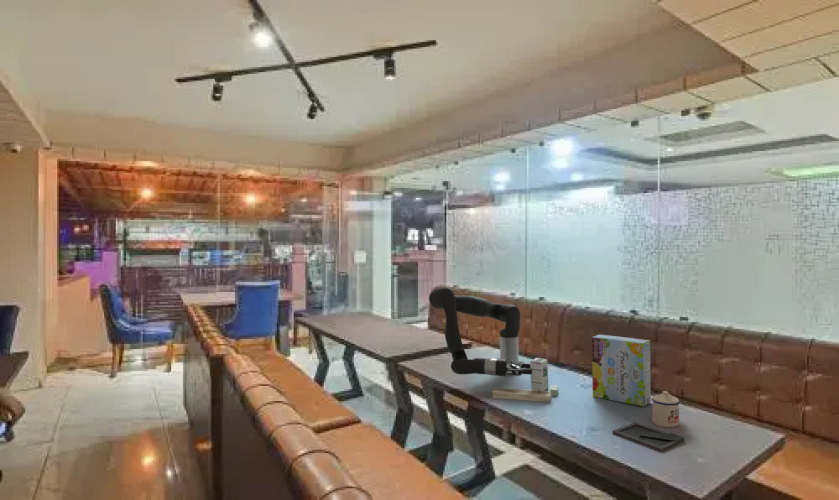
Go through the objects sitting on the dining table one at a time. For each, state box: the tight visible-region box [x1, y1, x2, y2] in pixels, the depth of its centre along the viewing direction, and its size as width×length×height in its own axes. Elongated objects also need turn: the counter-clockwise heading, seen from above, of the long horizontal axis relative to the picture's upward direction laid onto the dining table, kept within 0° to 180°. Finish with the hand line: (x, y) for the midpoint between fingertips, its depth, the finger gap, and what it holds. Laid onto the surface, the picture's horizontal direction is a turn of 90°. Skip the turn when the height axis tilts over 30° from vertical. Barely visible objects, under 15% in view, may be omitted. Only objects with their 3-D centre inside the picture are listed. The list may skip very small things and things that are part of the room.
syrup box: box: [529, 357, 549, 391], centre depth 220 cm, size 6×6×14 cm
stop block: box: [549, 384, 559, 397], centre depth 219 cm, size 7×3×2 cm, turn 163°
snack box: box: [591, 334, 652, 407], centre depth 209 cm, size 22×9×26 cm, turn 47°
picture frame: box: [612, 421, 685, 453], centre depth 171 cm, size 13×2×18 cm
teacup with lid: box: [651, 390, 681, 428], centre depth 184 cm, size 12×9×12 cm
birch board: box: [492, 387, 552, 403], centre depth 214 cm, size 6×24×3 cm, turn 73°
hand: (532, 369), depth 221 cm, fingers open, 8 cm apart
